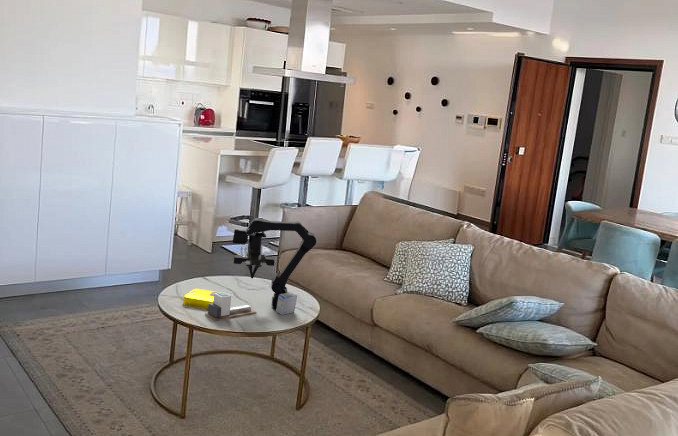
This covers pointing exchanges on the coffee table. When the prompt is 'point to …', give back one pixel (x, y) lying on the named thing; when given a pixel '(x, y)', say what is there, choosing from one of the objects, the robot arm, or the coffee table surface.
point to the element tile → (199, 298)
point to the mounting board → (232, 315)
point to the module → (223, 302)
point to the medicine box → (286, 303)
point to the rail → (216, 310)
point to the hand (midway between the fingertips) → (251, 278)
